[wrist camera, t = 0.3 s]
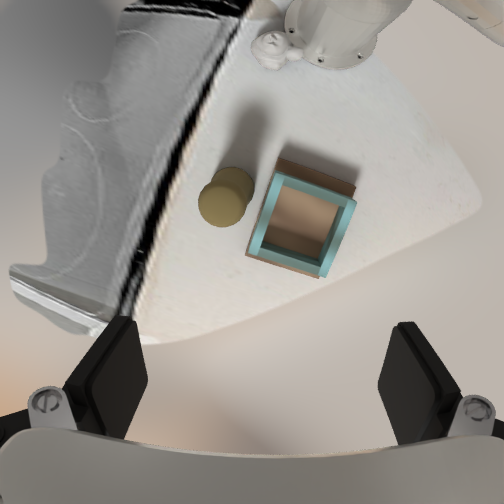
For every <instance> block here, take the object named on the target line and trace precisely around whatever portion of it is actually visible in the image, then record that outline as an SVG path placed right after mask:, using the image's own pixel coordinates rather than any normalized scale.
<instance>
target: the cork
mask: <svg viewBox="0 0 504 504" xmlns="http://www.w3.org/2000/svg"><path fill="white" fill-rule="evenodd" d="M253 194H254V184H253V181H252V179H251V177H250V176H249V175H248V173H246V172H245V171H243V170H242V169H239V168H236V167H227V168H224V169H221V170H220V171H219V172H217V173H216V174H215V175H214V177H213V178H212V180H211V182H210V183H209V184H207V185H206V186H205V187H204V188H203V190H202V191H201V192H200V196H199V199H198V206H199V210H200V213H201V215H202V217H203V218H204V219H205V221H207V222H208V223H210V224H211V225H213V226H217V227H228V226H231V225H234V224H235V223H237V222H238V221H240V219H241V218H242V217H243V215H244V213H245V210H246V207H247V205H248V204H249V202H250V201H251V200H252V197H253Z"/></svg>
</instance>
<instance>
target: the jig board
mask: <svg viewBox="0 0 504 504" xmlns="http://www.w3.org/2000/svg"><path fill="white" fill-rule="evenodd" d="M355 189H356V187H355V186H354V185H351V184H349V183H346V182H343V181H341V180H338V179H336V178H333V177H331V176H328V175H325V174H323V173H320V172H317V171H315V170H312V169H309V168H306V167H304V166H301V165H298V164H295V163H292V162H289V161H287V160H284V159H281V158H278V159H277V162H276V165H275V168H274V171H273V174H272V177H271V179H270V182H269V185H268V188H267V191H266V194H265V197H264V200H263V203H262V206H261V209H260V212H259V215H258V217H257V220H256V223H255V226H254V229H253V232H252V235H251V238H250V241H249V244H248V247H247V250H246V253H245V256H248V257H251V258H254V259H257V260H261V261H264V262H267V263H270V264H273V265H276V266H279V267H282V268H286V269H289V270H292V271H295V272H298V273H301V274H305V275H308V276H311V277H314V278H317V279H319V277H320V276H321V277H324V278H326V276H327V274H328V271H329V269H330V267H331V265H332V262H333V260H334V258H335V255H336V253H337V251H338V248H339V246H340V244H341V241H342V239H343V236H344V234H345V232H346V229H347V227H348V224H349V222H350V219H351V217H352V215H353V212H354V209H355V207H356V204H357V202H356V201H355V200H354V199H352V197H353V194H354V192H355Z"/></svg>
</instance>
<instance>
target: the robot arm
mask: <svg viewBox="0 0 504 504" xmlns="http://www.w3.org/2000/svg"><path fill="white" fill-rule="evenodd" d="M434 1H436V2H437V3H439V4H440V5H442V6H443V7H445V8H446V9H448V10H449V11H451V12H452V13H454V14H455V15H457V16H458V17H459V18H461V19H462V20H464V21H465V22H466V23H468V24H469V25H471V26H472V27H474V28H475V29H476V30H478V31H479V32H480V33H482V34H483V35H484V36H486V37H487V38H489V39H490V40H491V41H493V42H494V43H496V44H498V45H500V46H502V47H504V0H434ZM411 2H412V0H294V1H293V2H292V3H291V4H290V5H289V7H288V9H287V11H286V15H285V20H284V28H285V33H287V34H288V36H289V38H290V41H291V46H294V47H299V48H302V49H303V51H304V56H303V59H305V60H307V61H308V62H310V63H311V64H314V65H316V66H319V67H322V68H326V69H333V70H342V69H348V68H352V67H355V66H357V65H359V64H361V63H362V62H364V61H365V60H366V59H367V58H368V57H369V56H370V55H371V54H372V52H373V50H374V49H375V46H376V42H377V34H378V33H380V32H381V31H382V30H383V29H384V28H385V27H387V26H388V25H389V24H390V23H391V22H392V21H394V20H395V19H396V18H397V17H399V16H400V15H401V14H402V13H403V12H404V11H405V10H406V9H407V8H408V7H409V6H410V4H411ZM290 31H292V32H293V33H290ZM358 56H359V57H360V59H359V58H358ZM318 60H321V61H322V62H321V63H320V62H318ZM147 382H148V376H147V371H146V367H145V363H144V358H143V353H142V348H141V343H140V338H139V333H138V328H137V323H136V321H133V320H132V318H131V317H130V316H120V315H116V316H114V318H113V319H112V320H111V321H110V323H109V324H108V325H107V327H106V328H105V329H104V331H103V332H102V333H101V335H100V336H99V337H98V338H97V340H96V341H95V342H94V344H93V345H92V347H91V348H90V349H89V351H88V352H87V353H86V355H85V356H84V357H83V359H82V360H81V361H80V363H79V364H78V365H77V367H76V368H75V370H74V371H73V372H72V374H71V375H70V377H69V378H68V379H67V381H66V382H65V385H64V386H63V388H62V389H61V388H58V387H55V386H47V387H43V388H40V389H38V390H36V391H35V392H34V393H33V394H32V395H31V396H30V397H29V400H28V409H25V410H22V411H19V412H15V413H12V414H9V415H6V416H2V417H0V504H504V422H503V421H500V420H498V419H495V415H496V411H495V408H494V406H493V404H492V403H491V402H490V401H489V400H488V399H486V398H484V397H482V396H479V395H468V396H465V397H464V398H463V396H462V395H461V393H460V392H461V390H460V389H459V387H458V385H457V384H456V382H455V381H454V379H453V378H452V376H451V374H450V373H449V372H448V370H447V368H446V367H445V365H444V364H443V362H442V361H441V359H440V358H439V356H438V355H437V353H436V352H435V351H434V349H433V348H432V346H431V345H430V343H429V342H428V341H427V339H426V338H425V336H424V335H423V334H422V332H421V331H420V329H419V328H418V326H417V325H416V324H415V323H414V322H400V323H398V325H397V326H395V327H394V328H393V330H392V334H391V338H390V342H389V345H388V349H387V353H386V357H385V360H384V363H383V367H382V371H381V374H380V377H379V380H378V390H379V393H380V396H381V399H382V401H383V404H384V407H385V409H386V411H387V415H388V417H389V420H390V423H391V425H392V428H393V431H394V434H395V437H396V439H397V442H398V446H391V447H383V448H376V449H368V450H360V451H350V452H338V453H324V454H302V455H252V454H230V453H217V452H205V451H194V450H186V449H178V448H170V447H163V446H157V445H151V444H145V443H139V442H133V441H128V440H124V438H125V435H126V433H127V431H128V428H129V426H130V423H131V421H132V419H133V416H134V414H135V411H136V409H137V407H138V405H139V402H140V400H141V398H142V396H143V393H144V391H145V389H146V386H147Z"/></svg>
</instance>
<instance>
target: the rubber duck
mask: <svg viewBox="0 0 504 504" xmlns="http://www.w3.org/2000/svg"><path fill="white" fill-rule="evenodd" d="M251 51H252V53H253V55H254V56H255V58H256V59H257V60H258V62H259V63H260V64H261V65H262V66H263V67H265V68H267V69H271V70H279V69H281V68H282V67H283V66H284V65H286V63H287V62H288V61H291V62H296V61H299V60H300V59H301V58H303V56H304V51H303V49H302V48H299V47H294V46H291V41H290V38H289V36H288V34H287V33H285V32H281V31H270V32H267V33H264V34H262V35H260V36H259V37H258V38H256V39H255V40H253V42H252V44H251Z"/></svg>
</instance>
